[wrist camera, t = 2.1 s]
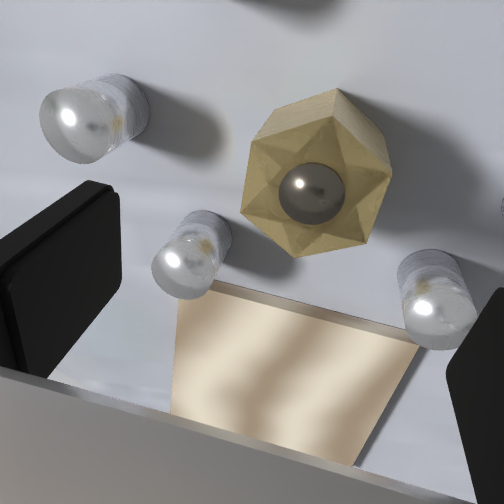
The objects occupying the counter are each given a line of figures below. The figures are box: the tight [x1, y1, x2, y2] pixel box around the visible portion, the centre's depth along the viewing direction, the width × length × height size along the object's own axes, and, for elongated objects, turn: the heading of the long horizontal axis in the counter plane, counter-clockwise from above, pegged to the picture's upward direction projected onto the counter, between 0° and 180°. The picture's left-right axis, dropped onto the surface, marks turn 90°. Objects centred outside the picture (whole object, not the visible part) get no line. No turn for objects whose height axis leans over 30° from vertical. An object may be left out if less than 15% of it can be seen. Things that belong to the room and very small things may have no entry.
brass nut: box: [240, 88, 393, 258], centre depth 17 cm, size 5×6×5 cm
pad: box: [170, 280, 420, 467], centre depth 27 cm, size 14×14×1 cm
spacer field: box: [39, 74, 504, 350], centre depth 17 cm, size 23×16×4 cm
